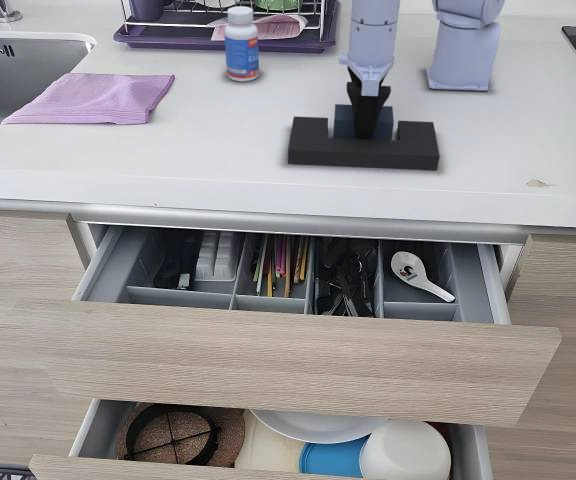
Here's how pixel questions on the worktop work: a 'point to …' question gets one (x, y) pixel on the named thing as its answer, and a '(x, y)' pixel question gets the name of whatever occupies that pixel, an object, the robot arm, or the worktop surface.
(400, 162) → the black u-shaped block
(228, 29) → the pill bottle
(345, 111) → the dark blue block
